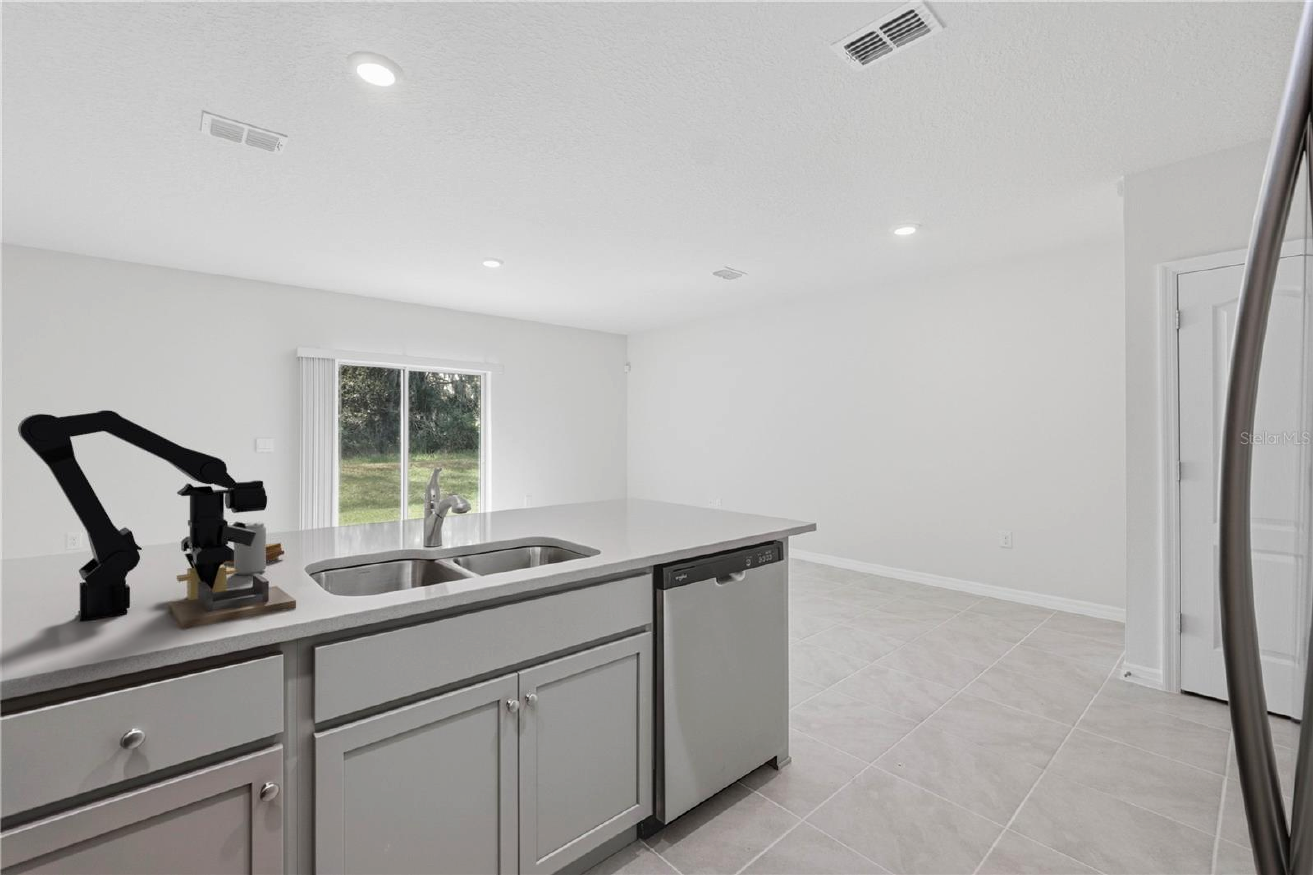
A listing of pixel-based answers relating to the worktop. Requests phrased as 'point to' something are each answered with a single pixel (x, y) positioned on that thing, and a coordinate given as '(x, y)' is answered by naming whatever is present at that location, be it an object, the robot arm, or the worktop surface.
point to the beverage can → (251, 552)
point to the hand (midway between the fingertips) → (206, 588)
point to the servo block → (194, 579)
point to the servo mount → (230, 604)
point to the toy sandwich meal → (267, 553)
